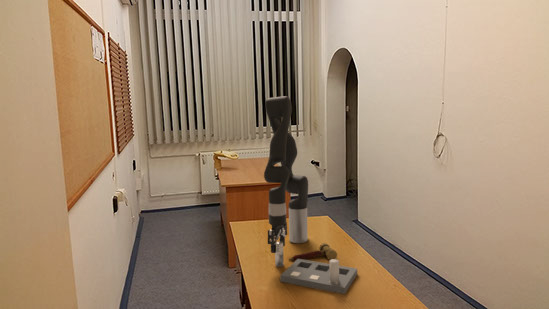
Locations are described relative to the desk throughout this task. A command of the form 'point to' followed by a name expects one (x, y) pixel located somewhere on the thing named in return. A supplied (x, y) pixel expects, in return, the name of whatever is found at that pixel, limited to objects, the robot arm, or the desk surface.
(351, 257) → the desk surface
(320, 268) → the pin board
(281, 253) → the steel pin
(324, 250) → the gavel
